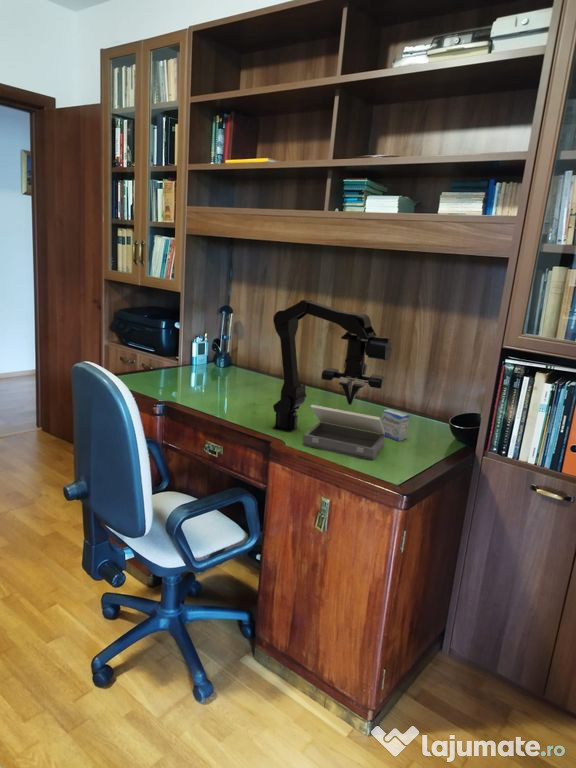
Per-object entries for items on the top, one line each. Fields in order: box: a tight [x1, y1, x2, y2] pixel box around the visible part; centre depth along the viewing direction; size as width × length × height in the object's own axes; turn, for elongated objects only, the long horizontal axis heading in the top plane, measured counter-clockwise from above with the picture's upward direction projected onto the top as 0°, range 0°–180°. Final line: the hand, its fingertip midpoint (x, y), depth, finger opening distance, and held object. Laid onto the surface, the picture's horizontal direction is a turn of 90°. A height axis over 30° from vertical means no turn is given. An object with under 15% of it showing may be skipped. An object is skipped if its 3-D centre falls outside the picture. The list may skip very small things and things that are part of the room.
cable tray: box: [302, 421, 385, 461], centre depth 165 cm, size 22×16×4 cm
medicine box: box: [381, 408, 410, 442], centre depth 176 cm, size 8×4×9 cm, turn 45°
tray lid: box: [310, 404, 385, 434], centre depth 166 cm, size 22×14×1 cm
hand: (350, 404), depth 164 cm, fingers closed
